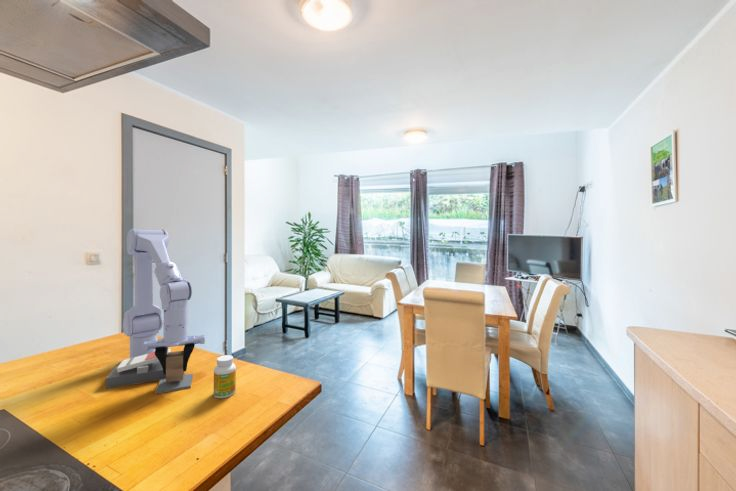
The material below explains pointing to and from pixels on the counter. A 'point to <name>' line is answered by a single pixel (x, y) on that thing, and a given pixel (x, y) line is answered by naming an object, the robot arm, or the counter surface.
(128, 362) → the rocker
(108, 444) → the counter surface
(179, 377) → the brown rectangular block
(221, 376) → the supplement bottle
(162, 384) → the mat
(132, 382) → the switch housing
